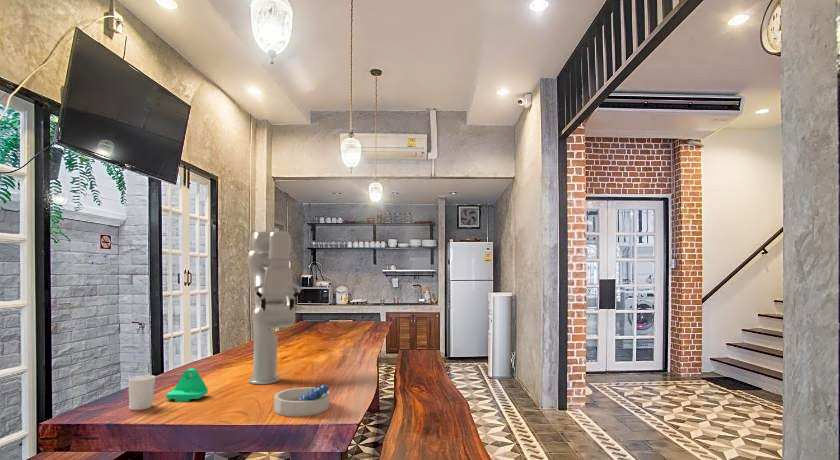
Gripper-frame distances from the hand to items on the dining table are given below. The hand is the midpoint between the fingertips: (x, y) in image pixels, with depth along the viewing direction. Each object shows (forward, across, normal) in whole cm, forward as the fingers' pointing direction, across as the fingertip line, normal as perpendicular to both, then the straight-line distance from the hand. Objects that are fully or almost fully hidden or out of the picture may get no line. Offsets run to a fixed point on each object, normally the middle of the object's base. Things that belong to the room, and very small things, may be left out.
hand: (277, 309), depth 179 cm
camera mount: (+33, -32, +6) cm, 46 cm away
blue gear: (+31, +10, -14) cm, 35 cm away
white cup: (+32, -44, -3) cm, 55 cm away
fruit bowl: (+32, +10, -15) cm, 37 cm away
